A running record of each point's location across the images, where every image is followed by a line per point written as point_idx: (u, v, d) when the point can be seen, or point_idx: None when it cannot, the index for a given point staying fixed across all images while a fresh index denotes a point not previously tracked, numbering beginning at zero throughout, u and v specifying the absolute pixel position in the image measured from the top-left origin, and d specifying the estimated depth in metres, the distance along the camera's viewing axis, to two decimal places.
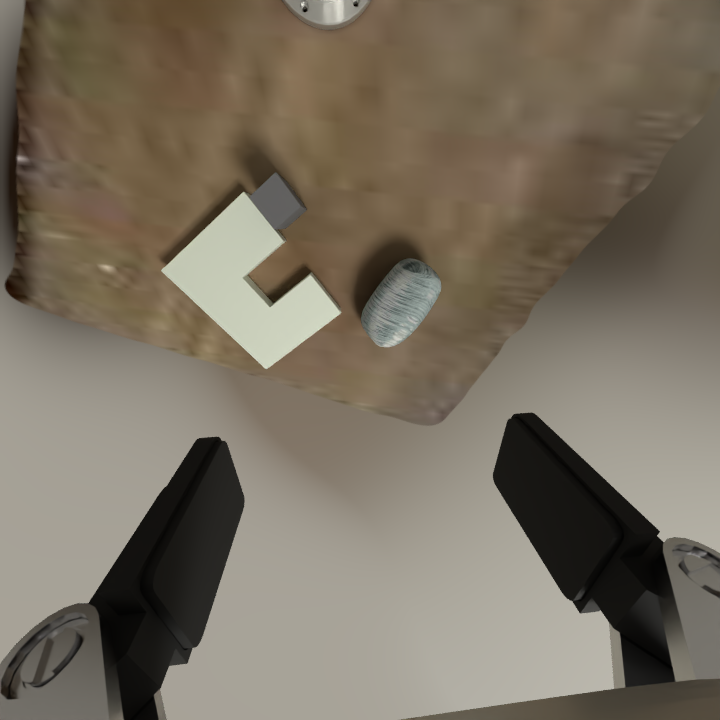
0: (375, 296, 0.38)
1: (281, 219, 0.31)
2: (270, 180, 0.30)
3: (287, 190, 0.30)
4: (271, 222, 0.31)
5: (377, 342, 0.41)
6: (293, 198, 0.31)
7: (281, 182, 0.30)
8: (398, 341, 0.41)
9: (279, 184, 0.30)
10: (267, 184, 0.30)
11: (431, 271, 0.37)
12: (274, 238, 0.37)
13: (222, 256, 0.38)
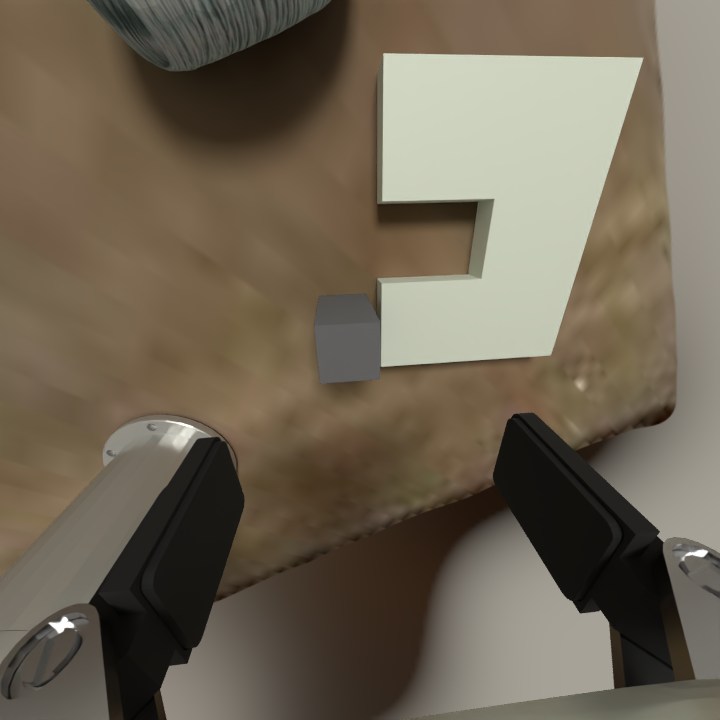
0: (263, 1, 0.12)
1: (359, 327, 0.17)
2: (335, 379, 0.18)
3: (319, 356, 0.17)
4: (377, 334, 0.17)
5: None
6: (318, 342, 0.17)
7: (321, 369, 0.18)
8: None
9: (325, 368, 0.18)
10: (342, 377, 0.18)
11: None
12: (390, 295, 0.21)
13: (473, 321, 0.23)
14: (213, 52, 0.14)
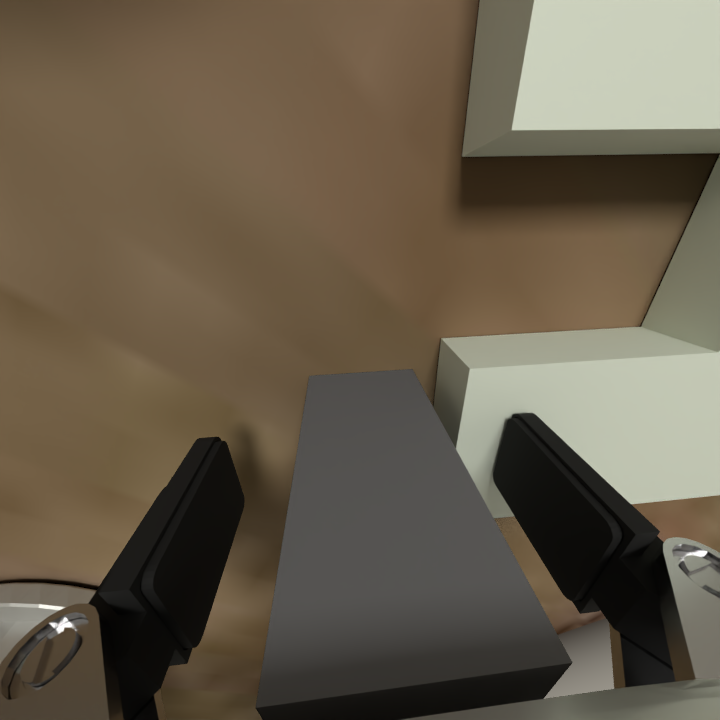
0: None
1: (472, 683, 0.04)
2: None
3: None
4: (542, 687, 0.04)
5: None
6: None
7: None
8: None
9: None
10: None
11: None
12: (487, 394, 0.08)
13: (660, 437, 0.10)
14: None
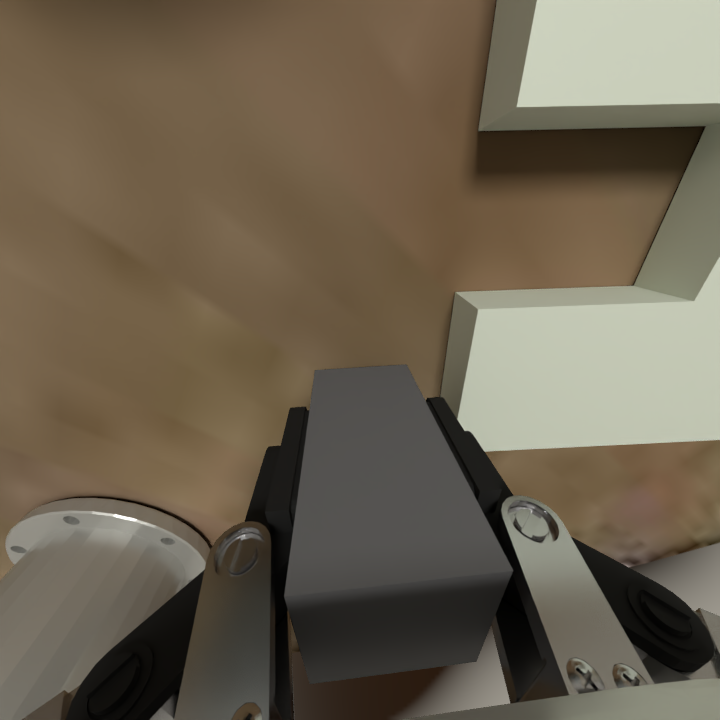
0: None
1: (441, 587, 0.05)
2: (352, 674, 0.06)
3: (307, 645, 0.05)
4: (494, 594, 0.05)
5: None
6: (301, 624, 0.05)
7: (312, 665, 0.06)
8: None
9: (325, 662, 0.06)
10: (374, 671, 0.06)
11: None
12: (492, 333, 0.10)
13: (644, 381, 0.12)
14: None
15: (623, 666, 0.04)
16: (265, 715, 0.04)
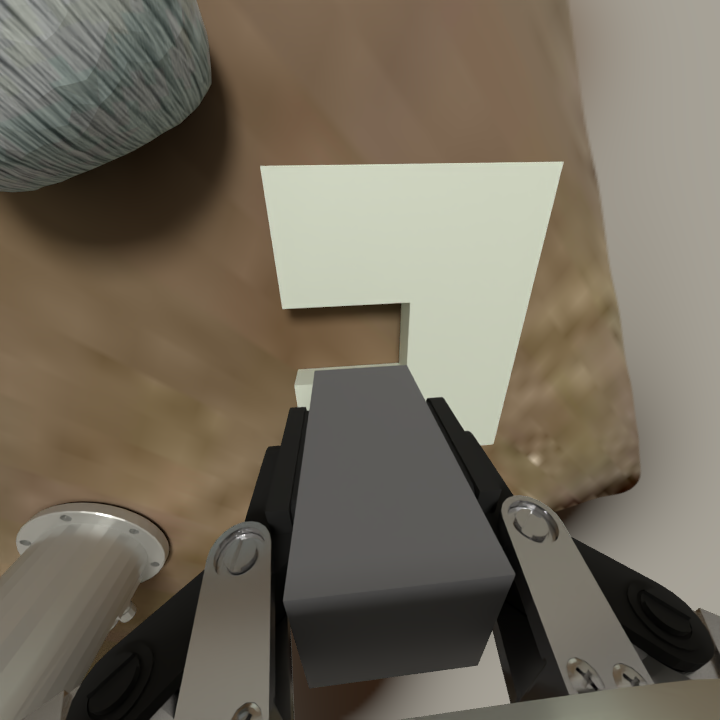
0: (73, 144, 0.10)
1: (442, 591, 0.05)
2: (352, 679, 0.06)
3: (306, 650, 0.05)
4: (496, 598, 0.05)
5: None
6: (300, 628, 0.05)
7: (312, 669, 0.06)
8: None
9: (325, 667, 0.06)
10: (375, 675, 0.06)
11: None
12: (306, 396, 0.20)
13: None
14: (43, 182, 0.12)
15: (623, 666, 0.04)
16: (265, 715, 0.04)
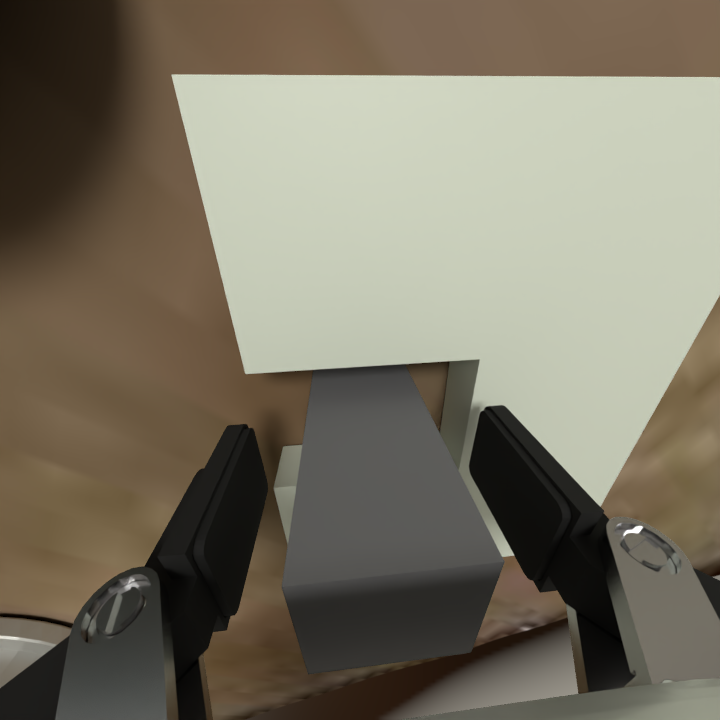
0: None
1: (434, 578, 0.05)
2: (349, 665, 0.06)
3: (305, 636, 0.06)
4: (486, 585, 0.05)
5: None
6: (298, 614, 0.05)
7: (310, 655, 0.06)
8: None
9: (323, 653, 0.06)
10: (371, 661, 0.06)
11: None
12: None
13: None
14: None
15: None
16: None
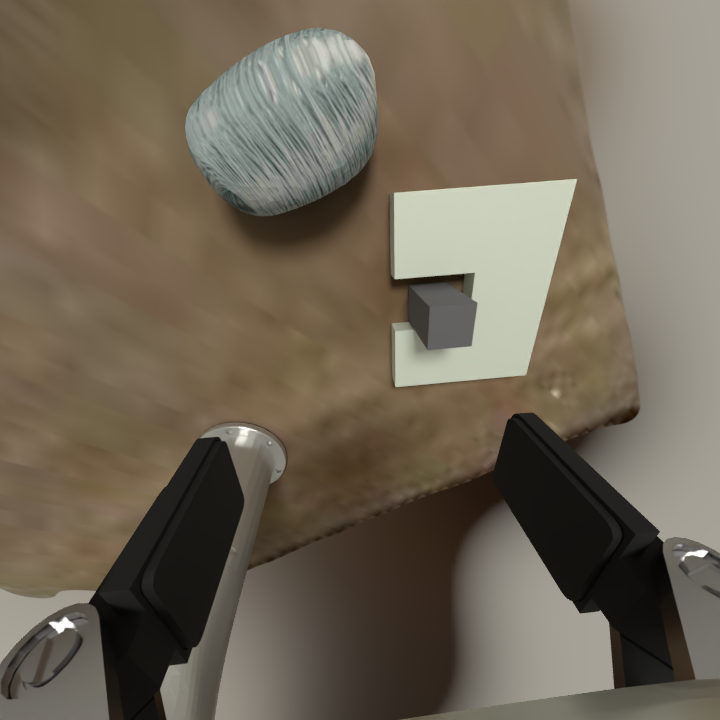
0: (322, 193, 0.20)
1: (461, 307, 0.23)
2: (438, 347, 0.24)
3: (430, 329, 0.23)
4: (474, 311, 0.23)
5: (369, 78, 0.17)
6: (430, 319, 0.23)
7: (430, 339, 0.24)
8: (323, 37, 0.16)
9: (433, 339, 0.24)
10: (444, 345, 0.24)
11: (200, 171, 0.19)
12: (401, 338, 0.30)
13: (464, 353, 0.31)
14: None
15: None
16: None
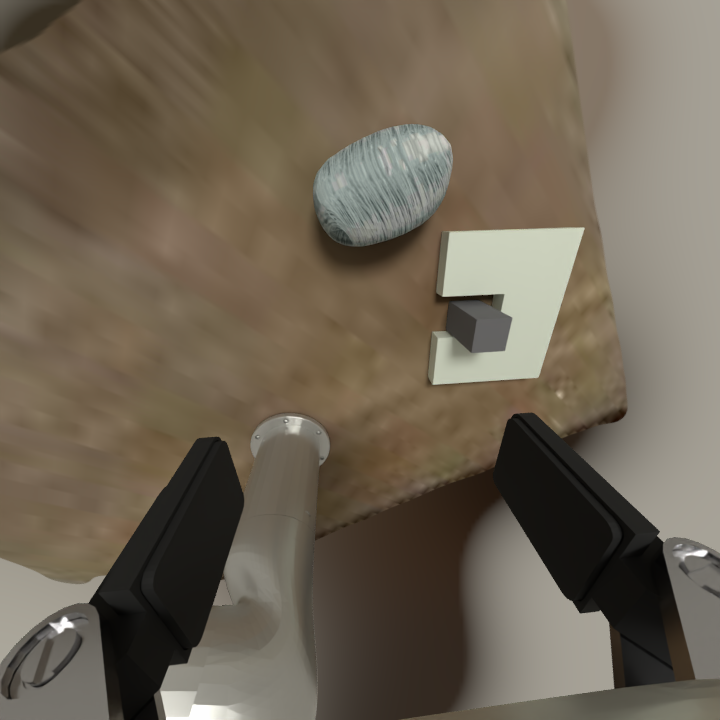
0: None
1: (500, 320, 0.30)
2: (480, 350, 0.31)
3: (475, 336, 0.30)
4: (509, 324, 0.30)
5: (450, 159, 0.24)
6: (476, 328, 0.30)
7: (474, 344, 0.31)
8: (424, 134, 0.23)
9: (476, 344, 0.31)
10: (484, 349, 0.31)
11: (321, 214, 0.25)
12: (442, 344, 0.37)
13: (490, 358, 0.38)
14: None
15: None
16: None
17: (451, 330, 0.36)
